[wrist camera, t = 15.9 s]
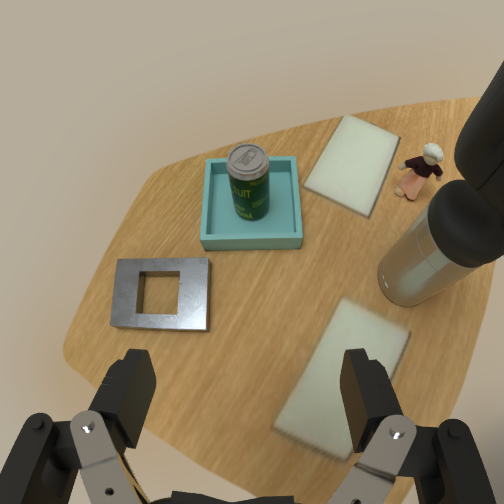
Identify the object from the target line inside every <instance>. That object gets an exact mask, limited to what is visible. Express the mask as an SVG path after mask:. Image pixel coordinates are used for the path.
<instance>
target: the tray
mask: <svg viewBox="0 0 504 504" xmlns="http://www.w3.org/2000/svg"><path fill="white" fill-rule="evenodd" d="M268 159H269V180H270V204H269V209H268V211H267V213H266V214H265V215H264V216H263V217H261V218H259V219H257V220H247V219H244V218H242V217H240V216H239V215H238V214H237V212H236V211H235V208H234V203H233V198H232V193H231V188H230V183H229V178H228V173H227V167H226V162H227V158H218V159H206V169H205V180H204V192H203V204H202V217H201V232H200V241H201V243H202V245H203V247H204V250H205V251H226V250H271V249H300V247H301V243H302V239H303V234H302V221H301V209H300V197H299V186H298V176H297V166H296V156H274V157H268Z"/></svg>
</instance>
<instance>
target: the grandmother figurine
mask: <svg viewBox="0 0 504 504" xmlns="http://www.w3.org/2000/svg"><path fill="white" fill-rule="evenodd" d="M423 153H424V154H423V156H419V157H415V158H412V159H409V160H406V161H405V162H403V163H402V164H400V165H399V166H398V168H399V170H404V169H406V168H412V169H411V170H410V171H409V172H408V173H407V174H406V175H405V176H404V177H403V179H402V180H401V182H400V183H399V184H398V185H397V186H396V188H395V190H394V191H395V194H396V195H397V196H399V197H403V196H404V195H405V194H406V196H407V197H408V198H409V199H411V200H416V199H417V198H418V193H419V191H420V189H421V188H422V187H423V185H424V184H425V182H426V181H427V180H428V178H429V177H430V175H431V174H432V172H433V173H434V174H435V175H436V180H437V181H441V180H442V174H443V171H442V170H441V168H440V166H439V165H438V164H437V163H438V162H440V161H442V160H443V152H442V150H441V148H440V147H439V146H438V145H437V144H433V143H429V144H426V145H425V147H424V149H423Z"/></svg>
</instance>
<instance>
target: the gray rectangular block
mask: <svg viewBox="0 0 504 504" xmlns="http://www.w3.org/2000/svg"><path fill="white" fill-rule="evenodd" d="M145 276H180V282H179V298H178V315H166V314H142V308H143V296H144V285H145ZM210 283H211V262H210V260H209V258H208V257H205V258H152V259H117V267H116V274H115V282H114V290H113V300H112V310H111V321H110V326H113V327H116V328H121V329H137V330H158V331H186V332H209V315H210Z"/></svg>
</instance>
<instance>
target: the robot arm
mask: <svg viewBox="0 0 504 504" xmlns="http://www.w3.org/2000/svg"><path fill="white" fill-rule="evenodd" d="M454 160H455V164H456V167H457V169H458V170H459V172H460V173H461V175H462V176H463V177H464V179H465V180H453V181H450V182H448V183H447V184H445V185H443V186H442V187H441V188H440V189H439V191H438V192H437V193H436V194H435V196H434V197H433V198H432V200H431V201H430V202H429V204H428V205H427V206H426V207H425V209H424V210H423V211H422V212H421V214H420V215H419V216H418V217H417V219H416V220H415V221H414V222H413V224H412V225H411V226H410V227H409V228H408V230H407V231H406V232H405V233H404V234H403V235H402V237H401V238H400V239H399V240H398V241H397V242H396V244H395V245H394V246H393V247H392V248H391V249H390V250H389V252H388V253H387V254H386V255H385V256H384V258H383V259H382V260H381V263H380V265H379V269H378V280H379V284H380V287H381V289H382V291H383V293H384V294H385V296H386V297H387V298H388V299H389V300H390V301H392V302H393V303H395V304H397V305H400V306H404V307H411V306H415V305H418V304H419V303H421V302H423V301H425V300H427V299H428V298H430V297H432V296H434V295H435V294H437V293H439V292H440V291H442V290H444V289H445V288H447V287H449V286H450V285H452V284H454V283H455V282H457V281H459V280H460V279H462V278H463V277H465V276H467V275H468V274H470V273H471V272H473V271H474V270H476V269H477V268H479V267H480V266H482V265H483V264H487V263H490V262H493V261H494V260H496V259H498V258H499V257H501V256H502V255H504V61H503V63H502V65H501V66H500V68H499V70H498V71H497V73H496V75H495V76H494V78H493V80H492V81H491V83H490V85H489V86H488V88H487V89H486V91H485V93H484V94H483V96H482V97H481V99H480V100H479V102H478V104H477V105H476V107H475V108H474V110H473V111H472V113H471V115H470V116H469V118H468V120H467V121H466V123H465V125H464V127H463V129H462V131H461V133H460V135H459V137H458V140H457V143H456V147H455V152H454ZM391 385H392V384H391V382H390V379H389V378H388V374H387V372H386V370H385V367H384V366H383V365H382V364H381V363H380V362H379V361H377V360H369V359H368V356H367V354H366V351H365V349H364V348H361V349H349V350H345V353H344V359H343V364H342V369H341V375H340V390H341V394H342V399H343V403H344V407H345V412H346V416H347V421H348V425H349V430H350V434H351V439H352V443H353V448H354V453H361V452H363V454H362V456H361V457H360V459H359V460H358V462H357V463H356V464H355V465H354V466H353V467H352V469H351V470H350V472H349V473H348V475H347V476H346V478H345V479H344V480H343V482H342V483H341V485H340V486H339V488H338V489H337V490H336V492H335V493H334V495H333V496H332V497H331V499H330V500H329V501H328V503H327V504H383V502H384V501H385V499H386V497H387V495H388V494H389V492H390V490H391V488H392V486H393V484H394V482H395V480H396V479H395V478H396V476H404V477H414V481H415V485H416V490H417V494H418V500H419V504H496V501H495V497H494V495H493V491H492V488H491V485H490V482H489V479H488V476H487V473H486V470H485V468H484V465H483V462H482V459H481V457H480V454H479V451H478V449H477V446H476V444H475V442H474V439H473V436H472V434H471V431H470V429H469V427H468V426H467V425H466V424H465V423H464V422H462V421H461V420H458V419H448V420H445V421H444V422H442V423H441V424H440V426H439V427H438V428H437V427H422V426H417V425H415V424H414V422H413V421H412V420H411V419H409V418H408V417H406V416H404V415H403V413H402V410H401V407H400V405H399V402H398V400H397V397H396V394H395V392H394V389H393V387H392V386H391ZM155 389H156V376H155V372H154V369H153V366H152V362H151V359H150V356H149V353H148V351H147V350H141V349H129V350H128V351H127V353H126V355H125V357H124V359H123V360H119V359H118V360H117V361H116V362H115V363H114V364H113V365H111V366H110V368H109V370H108V371H107V373H106V375H105V377H104V379H103V381H102V385H100V387H99V389H98V391H97V393H96V395H95V397H94V399H93V401H92V403H91V405H90V407H89V409H88V410H87V411H82V412H80V413H78V414H77V415H75V416H74V417H73V419H72V421H60V422H53V420H52V419H51V417H50V416H49V415H47V414H45V413H36V414H33V415H31V416H30V417H29V418H28V419H27V420H26V422H25V424H24V425H23V428H22V429H21V431H20V433H19V435H18V437H17V439H16V441H15V443H14V445H13V447H12V449H11V452H10V454H9V456H8V458H7V460H6V463H5V465H4V467H3V469H2V471H1V473H0V504H68V502H69V499H70V495H71V492H72V489H73V486H74V483H75V479H76V476H77V473H78V470H79V469H80V474H81V477H82V480H83V483H84V485H85V488H86V491H87V493H88V496H89V499H90V501H91V503H92V504H301V503H296V502H294V496H274V497H259V498H255V499H249V500H244V501H239V502H227V501H223V500H219V499H216V498H213V497H209V496H205V495H203V494H196V493H187V492H178V491H172V495H171V497H169V498H163V499H159V500H155V501H153V502H150V501H149V499H148V498H147V496H146V494H145V493H144V491H143V490H142V488H141V486H140V484H139V483H138V481H137V479H136V477H135V475H134V473H133V471H132V469H131V467H130V465H129V463H128V461H127V459H126V457H125V455H124V452H125V449H126V447H128V448H134V449H135V448H136V446H137V443H138V439H139V436H140V433H141V430H142V427H143V424H144V421H145V418H146V415H147V412H148V409H149V406H150V403H151V401H152V398H153V395H154V392H155Z"/></svg>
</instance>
